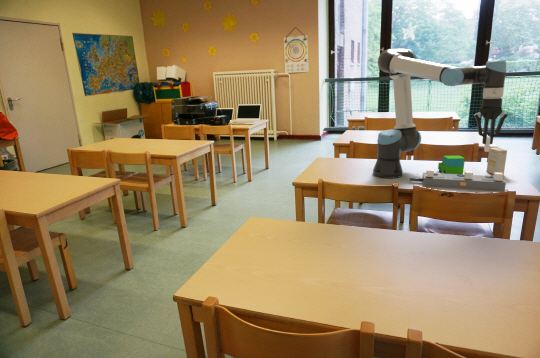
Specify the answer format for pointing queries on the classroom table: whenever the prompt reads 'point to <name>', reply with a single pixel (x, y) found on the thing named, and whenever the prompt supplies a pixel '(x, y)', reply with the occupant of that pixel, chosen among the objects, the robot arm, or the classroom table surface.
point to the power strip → (461, 181)
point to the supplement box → (496, 160)
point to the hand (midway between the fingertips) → (486, 151)
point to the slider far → (498, 176)
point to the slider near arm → (429, 173)
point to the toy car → (452, 165)
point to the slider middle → (468, 175)
